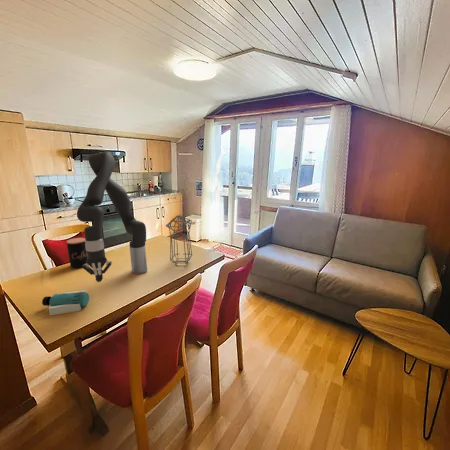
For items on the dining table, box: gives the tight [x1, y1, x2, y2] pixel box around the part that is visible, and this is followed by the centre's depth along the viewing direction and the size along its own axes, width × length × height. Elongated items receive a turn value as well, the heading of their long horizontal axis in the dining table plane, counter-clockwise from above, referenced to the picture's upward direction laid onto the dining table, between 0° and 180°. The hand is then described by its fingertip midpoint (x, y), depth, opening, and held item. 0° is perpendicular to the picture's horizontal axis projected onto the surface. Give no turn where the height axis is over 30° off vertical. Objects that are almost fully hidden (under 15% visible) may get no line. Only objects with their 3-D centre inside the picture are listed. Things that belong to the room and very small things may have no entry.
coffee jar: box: [66, 237, 87, 269], centre depth 151 cm, size 11×11×18 cm
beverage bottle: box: [41, 292, 90, 307], centre depth 108 cm, size 6×7×20 cm
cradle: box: [48, 289, 88, 316], centre depth 110 cm, size 12×13×4 cm
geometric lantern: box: [165, 214, 193, 267], centre depth 156 cm, size 16×16×35 cm
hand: (99, 281), depth 112 cm, fingers closed
